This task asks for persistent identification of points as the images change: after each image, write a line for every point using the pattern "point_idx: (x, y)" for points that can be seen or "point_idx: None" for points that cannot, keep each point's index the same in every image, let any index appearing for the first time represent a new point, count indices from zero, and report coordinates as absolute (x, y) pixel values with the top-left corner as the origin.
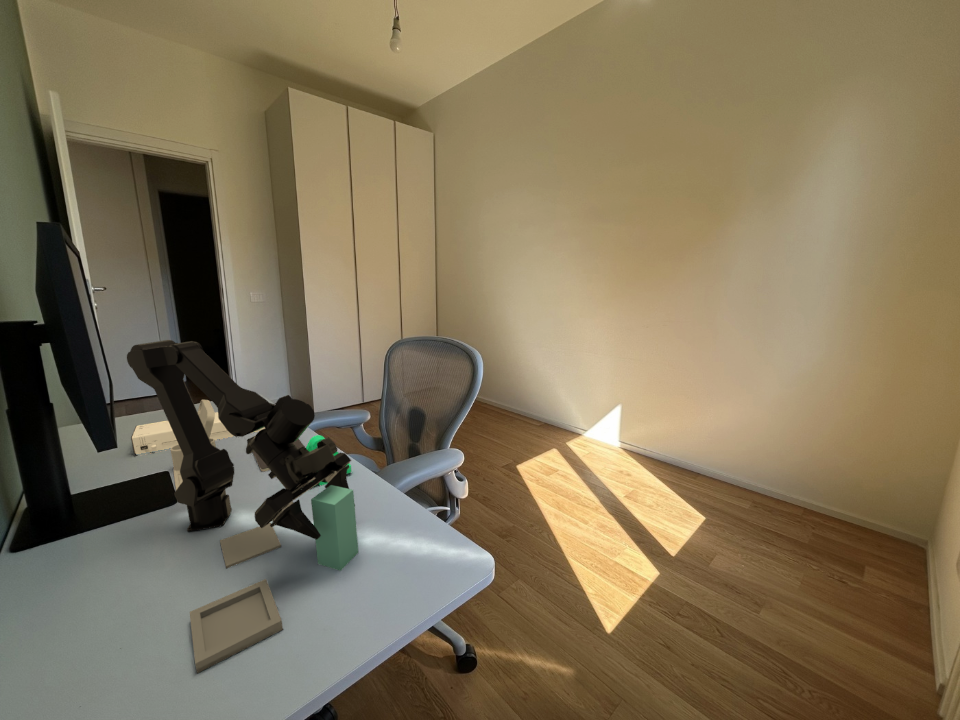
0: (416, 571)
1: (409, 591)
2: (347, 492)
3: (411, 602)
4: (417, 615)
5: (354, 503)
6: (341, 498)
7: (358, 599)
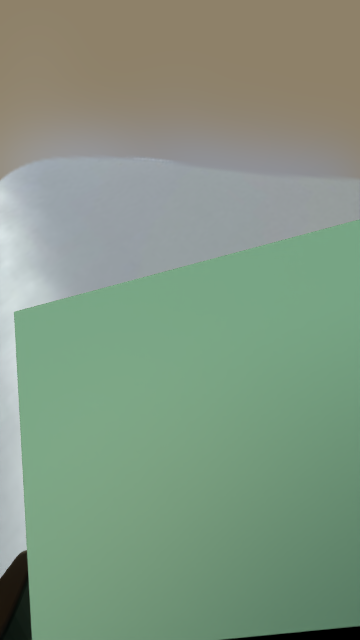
0: (114, 252)
1: (176, 223)
2: (131, 318)
3: (197, 202)
4: (212, 176)
5: (7, 569)
6: (310, 243)
7: None
